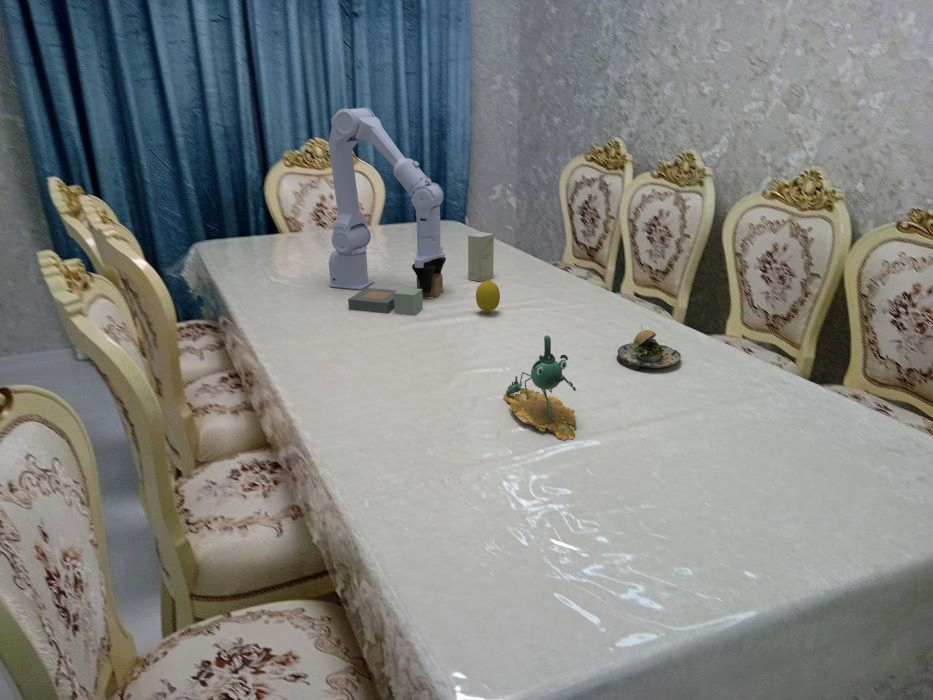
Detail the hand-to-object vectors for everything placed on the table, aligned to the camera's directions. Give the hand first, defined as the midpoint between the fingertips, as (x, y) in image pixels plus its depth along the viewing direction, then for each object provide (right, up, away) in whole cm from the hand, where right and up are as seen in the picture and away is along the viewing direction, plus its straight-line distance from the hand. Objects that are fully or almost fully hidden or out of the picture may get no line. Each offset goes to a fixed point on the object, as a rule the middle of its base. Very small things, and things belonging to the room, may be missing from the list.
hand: (429, 289), depth 166 cm
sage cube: (-4, -6, -12) cm, 14 cm away
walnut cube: (0, -1, +1) cm, 2 cm away
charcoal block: (-12, -5, -7) cm, 15 cm away
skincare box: (+13, +4, +14) cm, 20 cm away
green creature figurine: (+21, -26, -60) cm, 69 cm away
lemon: (+14, -7, -13) cm, 21 cm away
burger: (+44, -18, -40) cm, 62 cm away
